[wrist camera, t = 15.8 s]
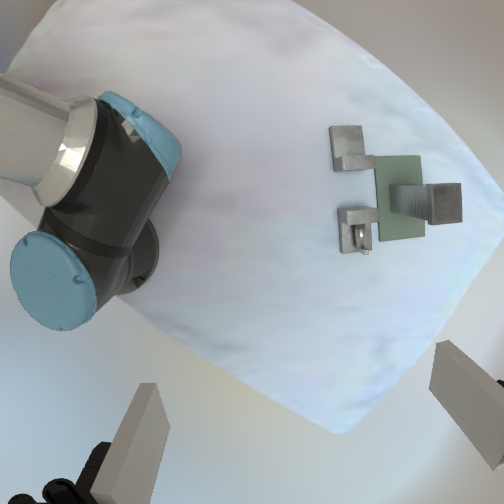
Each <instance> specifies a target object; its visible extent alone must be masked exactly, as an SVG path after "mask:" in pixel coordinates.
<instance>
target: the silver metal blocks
mask: <svg viewBox="0 0 504 504" xmlns="http://www.w3.org/2000/svg"><path fill="white" fill-rule="evenodd" d="M329 131H330V139H331V147H332V155H333V164H334V171H346V170H363V169H373V168H375V163H374V155H365V149H364V141H363V133H362V126H332V127H330V128H329ZM338 219H339V233H340V250H341V253H343V254H346V253H354V252H361V253H362V254H364V255H369V251H370V250H372V236H371V223H375V222H379V212H378V209H377V208H372V207H367V206H364V207H353V208H342V209H338Z"/></svg>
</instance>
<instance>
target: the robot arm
mask: <svg viewBox="0 0 504 504" xmlns="http://www.w3.org/2000/svg"><path fill="white" fill-rule="evenodd" d="M181 155H182V147H181V144H180V142H179V141H178V139H177V138H176V137H175V136H174V135H173V134H172V133H171V132H170V131H169V130H168V129H167V128H165V127H164V126H163V125H162V124H161V123H159V122H158V121H157V120H156V119H154V118H153V117H152V116H150V115H149V114H147V113H146V112H144V111H142V110H140V108H138V107H137V106H135V105H134V104H133V103H132V102H130V101H129V100H127V99H125V98H124V97H122V96H120V95H118V94H116V93H114V92H111V91H106V92H104V93H103V94H102V95H101V96H99V98H98V99H97V100H96V99H94V98H93V97H91V96H88V95H81V96H78V97H76V98H74V99H71V100H69V101H67V102H65V101H63V100H61V99H58V98H56V97H54V96H52V95H50V94H48V93H45V92H43V91H41V90H39V89H37V88H34V87H32V86H30V85H28V84H25V83H23V82H21V81H19V80H16V79H14V78H12V77H9V76H7V75H5V74H2V73H0V178H3V179H7V180H10V181H14V182H17V183H21V184H24V185H28V186H30V187H31V188H32V190H33V192H34V195H35V197H36V199H37V201H38V203H39V204H40V205H42V206H44V207H46V208H45V210H44V213H43V215H42V218H41V220H40V223H39V226H38V228H37V231H33V232H30V233H28V234H27V235H25V236H24V237H23V238H22V239H21V240H20V241H19V242H18V243H17V244H16V246H15V248H14V250H13V252H12V255H11V260H10V276H11V281H12V285H13V288H14V290H15V291H16V293H17V296H18V300H19V301H20V303H21V305H22V306H23V308H24V309H25V310H26V311H27V313H28V314H29V315H30V316H31V317H32V318H34V319H35V320H36V321H37V322H38V323H40V324H41V325H43V326H45V327H47V328H49V329H52V330H56V331H67V330H73V329H76V328H77V327H79V326H80V325H82V324H84V323H85V322H87V321H89V320H91V318H92V316H94V314H95V313H96V312H97V311H98V310H99V309H100V308H101V307H102V306H103V305H104V304H106V303H107V302H108V301H109V300H110V299H111V298H112V297H113V296H114V295H121V294H126V293H130V292H132V291H134V290H136V289H138V288H139V287H140V286H142V285H143V284H144V283H145V282H146V281H147V280H148V279H149V278H150V276H151V275H152V273H153V272H154V270H155V267H156V265H157V261H158V256H159V243H158V238H157V234H156V232H155V229H154V227H153V225H152V223H151V222H150V220H149V219H148V218H149V216H150V214H151V212H152V210H153V209H154V207H155V205H156V203H157V202H158V200H159V198H160V196H161V195H162V193H163V191H164V190H165V188H166V186H167V185H168V184H169V183H170V182H171V179H172V174H173V172H174V170H175V168H176V166H177V165H178V163H179V161H180V159H181ZM429 390H430V391H431V392H432V393H433V395H434V396H435V397H436V398H437V400H438V401H439V402H440V403H441V405H442V406H443V407H444V408H445V409H446V411H447V412H448V413H449V414H450V416H451V417H452V418H453V419H454V421H455V422H456V423H457V425H458V426H459V427H460V428H461V430H462V431H463V432H464V433H465V435H466V436H467V437H468V439H469V440H470V441H471V442H472V444H473V445H474V446H475V448H476V449H477V450H478V452H479V453H480V454H481V455H482V457H483V458H484V459H485V461H486V462H487V463H488V465H489V466H490V467H491V469H492V470H493V471H494V472H495V471H496V470H498V469H499V468H501V467H503V466H504V381H502V380H498V381H495V380H494V379H493V378H492V377H491V376H489V374H488V373H486V372H485V371H484V370H483V369H482V368H481V367H480V366H478V365H477V364H476V363H475V362H474V361H473V360H471V359H470V358H469V357H468V356H467V355H466V354H465V353H463V352H462V351H461V350H460V349H459V348H458V347H456V346H455V345H454V344H453V343H452V342H450V341H449V340H447V341H443V342H440V343H436V350H435V357H434V363H433V369H432V375H431V380H430V385H429ZM169 430H170V424H169V422H168V419H167V416H166V413H165V410H164V407H163V404H162V401H161V397H160V394H159V391H158V388H157V384H156V383H140V385H139V387H138V389H137V391H136V393H135V396H134V398H133V400H132V401H131V404H130V406H129V408H128V410H127V412H126V414H125V416H124V418H123V420H122V422H121V424H120V427H119V429H118V431H117V433H116V435H115V437H114V439H113V442H112V443H110V442H101V443H100V444H98V445H97V446H96V447H95V448H94V449H93V450H92V453H91V455H90V456H89V460H87V462H86V464H85V467H84V468H83V470H82V472H81V474H80V476H79V478H78V480H77V482H76V484H75V485H74V483H73V482H72V481H70V480H68V479H64V478H59V479H54V480H52V481H50V482H48V483H47V484H46V485H45V486H44V489H43V491H42V496H43V498H44V499H45V500H46V502H47V503H37V502H36V501H35V500H34V499H33V498H32V496H30V495H28V494H18V495H15V496H14V497H12V498H11V499H10V500H9V502H8V504H150V500H151V496H152V492H153V489H154V485H155V481H156V477H157V473H158V470H159V466H160V462H161V459H162V455H163V451H164V448H165V445H166V441H167V437H168V434H169Z"/></svg>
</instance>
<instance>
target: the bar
mask: <svg viewBox="0 0 504 504" xmlns="http://www.w3.org/2000/svg"><path fill="white" fill-rule="evenodd" d="M389 196H390V211H391V212H392V213H397V214H401V215H406V216H410V217H414V218H419V219H423V220H427V221H428V224H429V225H440V224H450V223H460V222H462V194H461V183H440V184H397V185H389Z"/></svg>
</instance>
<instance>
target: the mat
mask: <svg viewBox="0 0 504 504" xmlns="http://www.w3.org/2000/svg"><path fill="white" fill-rule="evenodd" d="M374 163H375V168H374V169H375V179H376V191H377V205H378V212H379V241H380V242H382V241H390V240H399V239H407V238H416V237H424V236H425V220H423V219H419V218H414V217H410V216H406V215H401V214H397V213H392V212H391V211H390V196H389V185H397V184H423V181H422V169H421V159H420V156H380V157H374Z"/></svg>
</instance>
